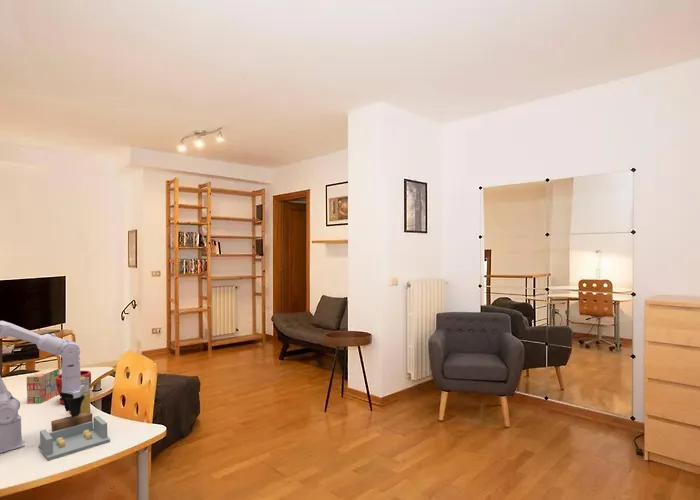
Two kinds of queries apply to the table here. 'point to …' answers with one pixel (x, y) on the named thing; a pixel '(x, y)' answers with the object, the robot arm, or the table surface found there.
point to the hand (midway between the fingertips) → (72, 413)
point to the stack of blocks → (42, 385)
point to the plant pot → (59, 382)
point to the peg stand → (73, 439)
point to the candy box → (86, 392)
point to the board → (71, 421)
